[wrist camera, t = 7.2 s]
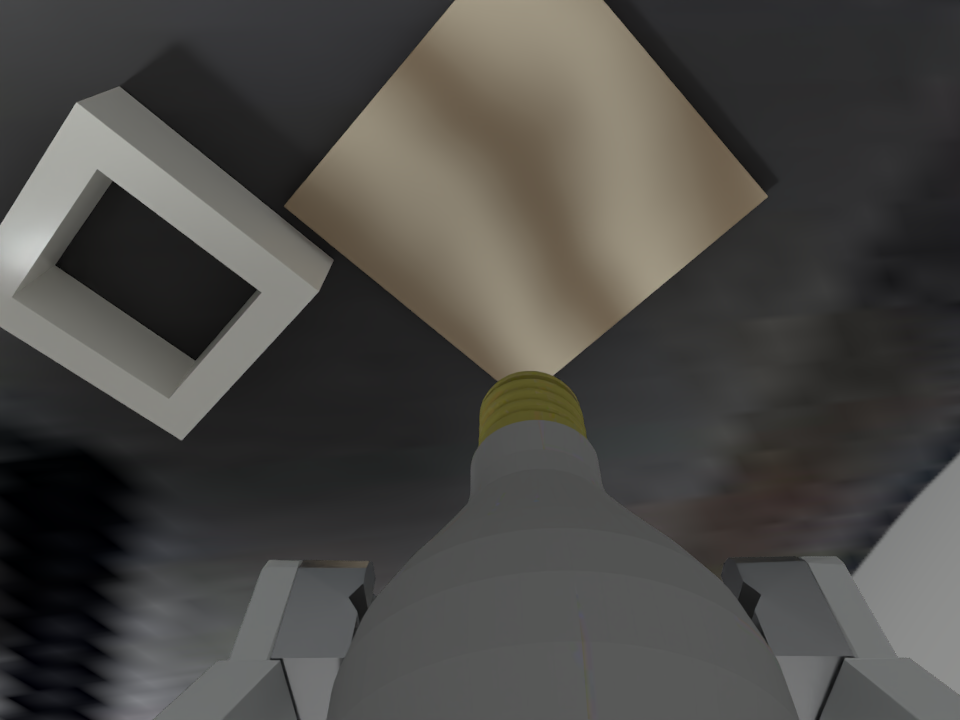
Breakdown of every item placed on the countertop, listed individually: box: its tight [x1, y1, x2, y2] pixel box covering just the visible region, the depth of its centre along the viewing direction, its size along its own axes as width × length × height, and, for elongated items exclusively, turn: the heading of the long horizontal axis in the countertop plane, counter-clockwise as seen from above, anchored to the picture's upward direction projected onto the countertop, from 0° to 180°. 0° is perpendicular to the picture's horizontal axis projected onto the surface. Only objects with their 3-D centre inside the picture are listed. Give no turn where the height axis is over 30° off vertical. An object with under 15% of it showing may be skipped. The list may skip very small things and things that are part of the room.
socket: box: [0, 86, 334, 440], centre depth 26 cm, size 10×10×3 cm
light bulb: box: [326, 371, 800, 720], centre depth 10 cm, size 6×6×10 cm
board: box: [284, 0, 768, 381], centre depth 26 cm, size 13×13×1 cm
